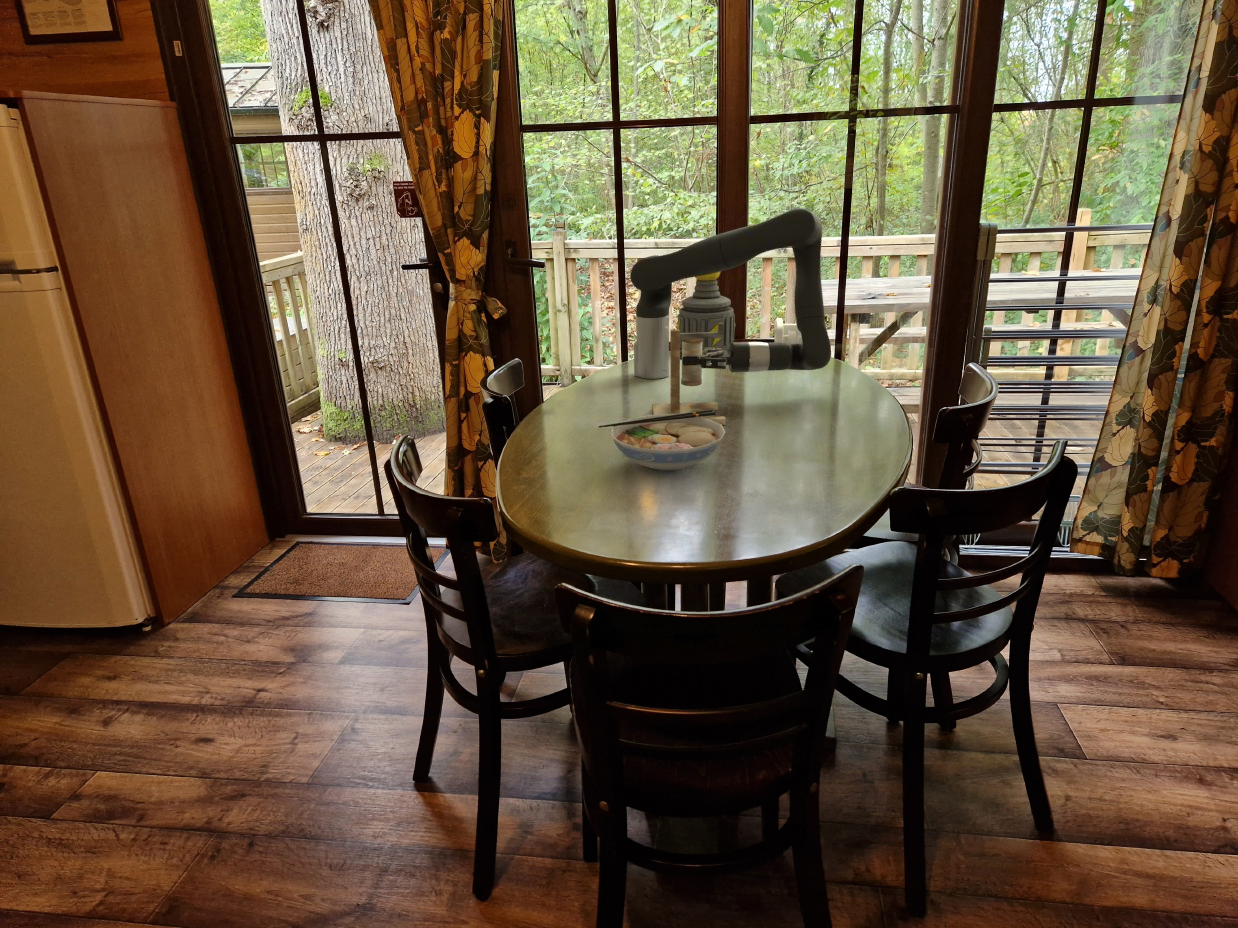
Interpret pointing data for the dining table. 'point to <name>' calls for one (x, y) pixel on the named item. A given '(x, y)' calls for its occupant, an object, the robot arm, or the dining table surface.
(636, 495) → the dining table surface
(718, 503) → the dining table surface
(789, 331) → the cable organizer
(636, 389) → the dining table surface
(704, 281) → the decorative lamp
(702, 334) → the hook stand
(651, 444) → the ramen bowl
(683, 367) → the cord spool
